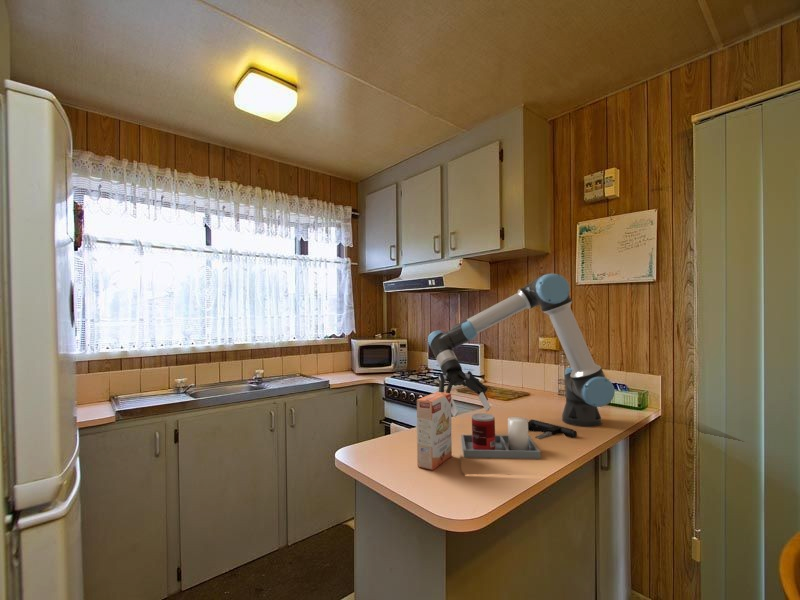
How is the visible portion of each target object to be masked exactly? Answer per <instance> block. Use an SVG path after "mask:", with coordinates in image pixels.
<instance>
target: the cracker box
mask: <svg viewBox="0 0 800 600" xmlns="http://www.w3.org/2000/svg"><path fill="white" fill-rule="evenodd" d="M451 396H452V394H451V392H450V393H446V392H444V393H443V392H439V391H435V392H433V393H430V394H428V395H425V396H422V397H420V398H418V399H416V429H417V430H416V435H417V436H416V440H417V441H416V443H417V445H416V446H417V449H416V450H417V452H416V453H417V455H416V457H417V467H418V468H421V469H426V470H430V471H434V470H435V469H436V468H438V467H439V466H441V465H442V464H443V463H444V462H446V461H447V460H448V459H449V458H451V457H452V453H453V451H452V450H453V449H452V445H453V444H452V442H453V441H452V437H453V436H452V411H451Z"/></svg>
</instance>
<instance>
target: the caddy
mask: <svg viewBox="0 0 800 600" xmlns="http://www.w3.org/2000/svg"><path fill="white" fill-rule="evenodd" d="M530 436H531V435H529V451H521V450H509V446H508V434H506V435H505V434H504V435H503V434H495V450H474V449H473V442H472V434H461V435H460V439H461V448H462V455H463V458H470V459H471V458H474V459H475V458H477V459H478V458H479V459H525V460H527V459H528V460H533V459H534V460H541V455H542V454H541V450H540V449H539V447H538V446H537V445H536V442H534V440H533V439H532V437H530Z"/></svg>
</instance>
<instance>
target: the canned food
mask: <svg viewBox="0 0 800 600" xmlns="http://www.w3.org/2000/svg"><path fill="white" fill-rule="evenodd" d="M495 422H496V420H495V415H492V414H491V413H485V412H484V413H481V412H480V413H474V414H473V415H471V432H472V433H471V435H472V442H473V449H474V450H495V435H496V423H495Z"/></svg>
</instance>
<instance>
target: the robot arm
mask: <svg viewBox="0 0 800 600" xmlns="http://www.w3.org/2000/svg"><path fill="white" fill-rule="evenodd" d="M570 291H571V288H570V284H569V282H568V280H567V279H566V278H565V277H564V276H563V275H560V274H558V273H547V274H544V275H542V276H538V277H536V278H534V279H533V280H532V281H530V282H529V283H527V284H526V285H525V286H523V287H522V288H519V289H518V290H517V293H515V294H513V295H510V296H509V297H507V298H505V299H504V300H502V301H499V302H498V303H495V304H493V305H492V306H490V307H488V308H486V309H484V310H482V311H481V312H479V313H477V314H475V315H473V316H470V317H468V318H467V319H465V320H463V321H461V322H460V323H456V324H454V325H453V326H452V327H451V329H449V330H447V331H445V332H443V330H440V329H439V330H438V329H437V330H435V331H432V332H431V333H430V334H429V335H428V336H427V343H428V344H429V345H428V346H429V347H430V349H431V351H432V353H433V355H434V358H435V359H436V362H437V363H438V366H439V368H440V370H441V372H442V373H441V374H439V376H438V378H437V379H438V380H437V381H438V382H439V384H438V392H443V393H450V394H451V391H452V388H453V386H454V387H457V386H463V387H467V388H468V389H469V390H471V391H472V392H474V393H475V394H477V395H478V399H479V400H480V403H481V405H482V406H483V408H484V410H485V412H488V411H489V410H490V409H491V408H492V407H491V405H490V403H489V401H488V400H489V398H488V397H487V394H486V392H487V391H488V387H487V386H485V385H484V384H483V383H482V382H481V381H480V380H479V379H478V378H477V377H476V376H474V375H473V373H472V372H471V371H470V370H468V371H467V372H464V371H463V368H462V366H461V363H460V362H459V360H458V358H457V356H456V354H455V352H454V350H455V349H456V348H458V347H461V346H462V345H464V344H466V343H468V342H470V341H471V342H472V340H474V339H475V338H477V337H478V334H479V333H482V331H483V332H484V331H485V330H486V329H489V328H491V327H492V326H494V325H497V324H498V323H500V322H502V321H504V320H506V319H509V318H511V317H512V316H515V315H516V314H518V313H519V312H522V311H524V310H526V309H527V310H531V309H532V308H535V307H538V306H540V307H539V308H541V311H542V313H544V314H546V315H548V317H549V320H550V322H551V324H552V326H553V329H554V331H555V334H556V336H557V337H558V340H559V343H560V345H561V347H562V350H563V352H564V354H565V357H566V359H567V361H568V363H569V366H570V367H566V368H565V370H564V383H565V404H564V408H563V410H562V414H561V417H562V418H561V420H562V422H563V423H566V424H569V425H571V426H576V427H587V428H588V427H599V426H601V425H602V424H603V423H602V422H603V421H602V416H601V414H600V411H599V407H600V408H602V407H605V406H607V405H608V404H610V403H611V402H612V401H613V399H614V397H615V393H616V391H615V386H614V384H613V383H612V382H611V380H610V379H608V378H607V377H606V375H605V373H604V371H603V369H602V367H601V365H599V364H597V363H595V360H594V358H593V356H592V354H591V352H590V350H589V347H588V345H587V342H586V340H585V338H584V335H583V333H582V331H581V329H580V327H579V324H578V321H577V319H576V317H575V315H574V312H573V311H572V308H571V305H572V303H573V301H572V298H571V296H570ZM445 381H447V382H448V384H447V388H446V390H445V383H446V382H445ZM451 414H452V415H453V417H457V416H458V414H459V409H458V407H457V405H456V403H455V401H454V399H453V396H452V395H451Z"/></svg>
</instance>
